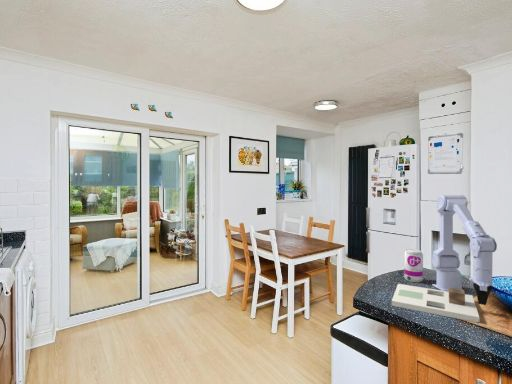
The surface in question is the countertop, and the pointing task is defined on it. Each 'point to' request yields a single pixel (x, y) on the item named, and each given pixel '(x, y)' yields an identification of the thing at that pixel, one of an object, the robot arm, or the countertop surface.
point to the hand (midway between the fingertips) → (482, 303)
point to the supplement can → (413, 265)
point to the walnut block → (456, 296)
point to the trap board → (434, 302)
